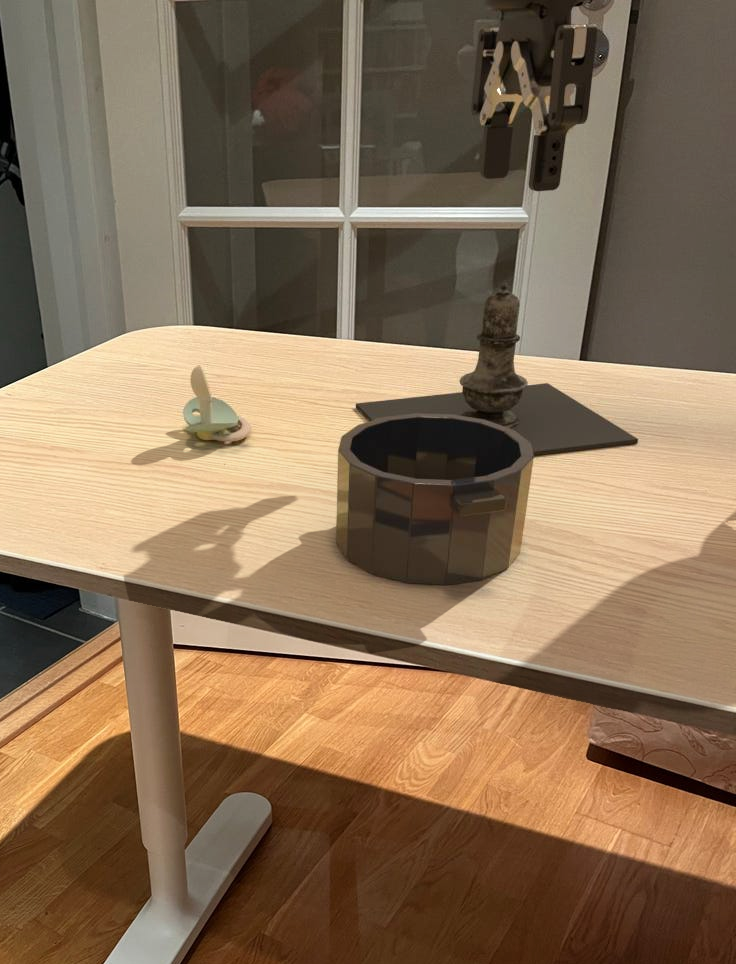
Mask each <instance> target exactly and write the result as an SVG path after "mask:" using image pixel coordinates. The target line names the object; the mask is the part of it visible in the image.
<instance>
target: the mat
mask: <svg viewBox="0 0 736 964" xmlns="http://www.w3.org/2000/svg"><path fill="white" fill-rule="evenodd" d="M355 408H356V410H358V411H359V412H360V413H361V415H363V417H365V418H366V419H367V421H368V422H369V421H373V420H374V418H383V417H388V416H398V415H407V414H416V413H417V414H451V415H459V416H460V415H461V414H463V413H464V412H466V411H468V410H470V409H472V408H471V407H470V406H469V405H468V403H467V402H466V401H465V398H464V395H463V391H461V392H450V393H442V394H432V395H431V394H430V395H423V396H422V395H421V396H413V397H405V398H403V397H402V398H394V399H385V400H377V401H376V400H375V401H366V402H357V403H355ZM509 411H511V412H512V413H513V414H515V415H516V416H517V417H518V418H519V424H518V425H517V426H515V427H513V428H510V429H513V430H514V431H516V432H517V433H518V434H520V435H521V436H522V437H524V438H525V439H526V440H528V441H529V442H530V443H531V446H532V451H533V455H534V457H536V456H542V455H551V454H559V453H567V452H569V453H570V452H575V451H577V452H578V451H584V450H594V449H601V448H608V447H617V446H618V447H619V446H625V445H626V446H627V445H634V444H638V443H639V438H638V437H636V436H635V435H633V434H631V433H629V432H628V431H626V430H624V429H623V428H621V427H620V426H618V425H616V424H615V423H613V422H611V421H610V420H609V419H606V418H605V417H603V416H602V415H600V414H599V413H597V412H595V411H593V410H592V409H590V408H589V407H587V406H586V405H584V404H582V403H580V402H579V401H577V400H576V399H574V398H573V397H571V396H570V395H567V393H565V392H563V391H561V390H560V389H558V388H556V387H555V386H553V385H551V384H550V383H549V382H545V383H536V384H528V385H527V387H526V388H524V389H523V394H522V396H521V398H520V400H519V402H518V403H517V404H516V405H515V406H514V407H512V408H511V409H510V410H509Z"/></svg>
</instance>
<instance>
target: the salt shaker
mask: <svg viewBox="0 0 736 964" xmlns="http://www.w3.org/2000/svg"><path fill="white" fill-rule="evenodd" d="M499 287H500V290H498V291H497V292H494V293H492V294H490V295H488V297H487V298H486V299H485V301H484V306H483V307H484V308H483V318H482V326H481V327H482V328H481V332H480V333H479V334H477V335H476V340H477V341H479V347H478V358H477V361H476V366H475V369H474V370H473V371H472V372H469V373H466V374H464V375H462V376H460V378H459V384H460V385H461V387H462V390H461V392H463V395H464V398H465V401H466V402H467V403H468V405H469V406H470V407H471V408H472V409H470V410H468V411H466V412H464V413H463V414H461V415H460V416H465V417H471V418H477V419H483V420H487V421H490V422H493V423H496V424H499V425H502V426H504V427H507V428H513V427H515V426H517V425H518V424H519V418H518V417H517V416H516V415H515V414H513V413H512V412H511V411H509V410H510V409H511V408H512V407H514V406H515V405H516V404H517V403H518V402H519V400H520V398H521V396H522V394H523V389H524V388H526V387H527V385H529V382H528V380H527V378H525V377H524V376H522V375H520V374H517V373H516V370H515V353H516V346H517V345H516V344H517V343H518V342H519V341H520V340H521V336H520V335H519V334H518V333H517V329H518V321H519V314H520V305H521V304H520V300H519V298H518V296H516V295H515V294H514V293H511V292H510V291H508V287H509V285H508V283H507V281H506V280H503V282H502V283H501V284H500V285H499Z"/></svg>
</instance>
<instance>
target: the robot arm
mask: <svg viewBox="0 0 736 964" xmlns="http://www.w3.org/2000/svg"><path fill="white" fill-rule="evenodd" d="M589 2H590V0H483V1H482V3H483V7H484V8H485V9H486V10H488V11H494V12H495V11H496V12H497V11H500V13H501V18H500V22H499V27H489V28H481V29H480V30H479V32H478V36H477V46H476V54H475V55H476V56H475V64H474V65H475V66H474V73H473V84H472V92H471V93H472V95H471V103H470V104H471V105H470V110H471V114H472V116H479V123H480V125H481V126H483V133H482V144H481V145H482V146H481V159H480V169H479V174H480V177H482V178H483V179H486V180H490V179H492V180H493V179H504V178H505V177H507V175H509V171H510V162H511V161H510V160H511V150H512V140H513V133H514V132H513V131H514V126H512V123H513V121H514V119H515V116H516V114H517V112H518V109H519V107H520V105H521V103H522V102H523V105H524V106H525V107H527V108H529V109H530V111H531V116H532V121H533V126H534V131H535V133H536V134H533V139H532V150H531V158H530V167H529V175H528V176H529V177H528V188H529V189H530V190H531V191H533V192H547V191H548V192H549V191H555V190H557V189H558V188H559V186H560V184H561V178H562V170H563V162H564V154H565V146H566V138H567V134H568V133H571V132H572V130H573V128H574V127H575V126H576V125H584V124H585V123H586V122H587V120H588V117H589V109H590V101H591V92H592V82H593V73H594V64H595V54H596V48H597V47H596V45H597V37H598V27H597V25H596V24H595V23H582V24H581V23H576V24H575V23H573V24H572V11H573V8H579V7H580V8H581V7H584V6H586V5H587V4H588V3H589ZM574 92H575V95H574V104H572V103H571V96H572V95H573V94H574ZM547 107H548V108H547Z"/></svg>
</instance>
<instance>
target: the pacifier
mask: <svg viewBox="0 0 736 964" xmlns="http://www.w3.org/2000/svg"><path fill="white" fill-rule="evenodd" d="M190 386H191V389H192V392H193V393H194V395H195V396H196V397H193V398H191V399H189V400H188V401H187V402H186V404H185V405H184V407H183V409H182V415H183V416H182V417H183V419H184V421H185V423H186V424H187V425H188V426H186V427H185V431H186V432H191V433H196V435H197V438H199V440H200V439H201V440H203V441H219V442H225V443H226V442H227V443H230V442H231V443H232V442H237V441H241V440H243V439H244V438H247V437H248V436H249V435H250V433H251V432H252V425H251V423H250V422H249V421H248V420H247V419H246V418H245V417H243V416H240V415H238V414H237V412H236V411H235V409H233V407H232V406H231V405H229V403H227V402H226V401H224V400H223V399H220V398H216V397H214V396H212V392H211V388H210V384H209V381H208V379H207V376H206V373H205V371H204V369H203V366H202V365H201V364H198V365H196V366H195V367H194V368H193V369H192V371H191V374H190ZM196 412H197V413H199V414H198V415H197V414H194V413H196ZM235 426H239V427H240V429H239V430H237V431H234V432H230V433H225V432H226V431H225V430H227V429H230V428H232V427H235Z"/></svg>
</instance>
